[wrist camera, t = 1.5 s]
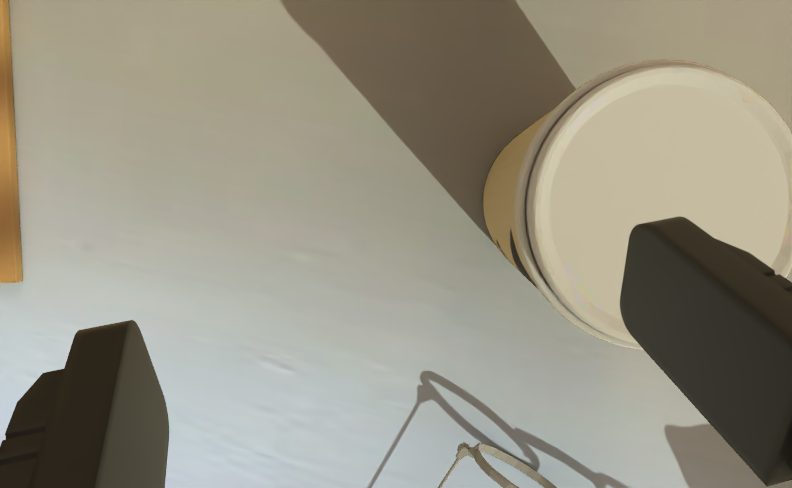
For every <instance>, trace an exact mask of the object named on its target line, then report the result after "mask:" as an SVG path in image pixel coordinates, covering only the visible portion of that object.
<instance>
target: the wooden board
mask: <svg viewBox="0 0 792 488" xmlns="http://www.w3.org/2000/svg"><path fill="white" fill-rule="evenodd" d="M20 281H23V274H22V254H21V234H20V214H19V195H18V175H17V155H16V135H15V116H14V96H13V76H12V56H11V36H10V17H9V0H0V283H17V282H20Z"/></svg>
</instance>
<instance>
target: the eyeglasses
mask: <svg viewBox="0 0 792 488" xmlns="http://www.w3.org/2000/svg"><path fill="white" fill-rule="evenodd" d="M480 451H482V452H485V453H487V454H490V455H493V456H495V457H497V458H499V459H501V460H503V461H504V462H506V463H508V464H510V465H512V466H514V467H515V468H517V469H519V470H520V471H522V472H523V473H525V474H526V475H528V476H529V477H531V478H532V479H534V480H535V481H537V482H538V483H539V484H540V485H542V486H543V487H544V488H557V487H556V486H554V485H553V484H552V483H551V482H549V481H548V480H547V479H546V478H544V477H543V476H542V475H540V474H539V473H537V472H536V471H534V470H533V469H532V468H530V467H529V466H527V465H525V464H524V463H522V462H520V461H519V460H517V459H515V458H513V457H512V456H510V455H508V454H506V453H504V452H502V451H500V450H498V449H496V448H494V447H491V446H489V445H486V444H483V443H478V444H477V445H476V446H475V447H470V448H469V445H468V444H466V443H463V444H460V445H459V446H458V453H457V455H456V457H457V459H456V460H455V462H454V464H453V465H452V467H451V468H450V470H449V471H448V473H447V474H446V476H445V477H444V479H443V481H442V482H441V484H440V485H439V487H438V488H441V487H442V486H443V484H444V483H445V481H446V479H447V478H448V476H449V475H450V473H451V472H452V470H453V469H454V467H455V466H456V464H457V463H458V461H459V459H460V460H461V459H462V458H463V457H464V456H467V455H469V456H471V457H473V458H474V459H475V461H476V462H477V464H478V465H479V466H480V468H481V469H482V470H483V471H484V472H485V473H486V474H487V475H488V476H489V477H491V478H492V479H493V480H494V481H496V482H497V483H498V484H499V485H501V486H502V487H503V488H519V487H517V486H516V485H514V484H513V483H511V482H510V481H508V480H507V479H506V478H505V477H503V476H502V475H501V474H500V473H498V472H497V471H496V470H495V469H494V468H492V467H491V466H490V465H489V464H488V463H487V462H486V460H485V459H484V458H483V456H482V455H481V453H480Z"/></svg>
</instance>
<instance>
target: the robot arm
mask: <svg viewBox="0 0 792 488" xmlns="http://www.w3.org/2000/svg"><path fill="white" fill-rule="evenodd" d="M620 311H621V316H622V319H623V322H624V324H625V326H626V328H627V330H628V332H629V333H630V334H631V336H632V337H633V338H634V339H635V340H636V341H637V342H638V344H639V345H640V346H641V347H642V348H643V349H644V350H645V351H646V352H647V354H648V355H649V356H650V357H651V358H652V359H653V360H654V361H655V363H656V364H657V365H658V366H659V367H660V368H661V369H662V370H663V371H664V373H665V374H666V375H667V376H668V377H669V378H670V379H671V380H672V381H673V383H674V384H675V385H676V386H677V387H678V388H679V389H680V390H681V391H682V393H683V394H684V395H685V396H686V397H687V398H688V399H689V400H690V401H691V403H692V404H693V405H694V406H695V407H696V408H697V409H698V410H699V412H700V413H701V414H702V415H703V416H704V417H705V418H706V419H707V420H708V422H709V423H710V424H711V425H712V426H713V427H714V428H715V429H716V430H717V432H718V433H719V434H720V435H721V436H722V437H723V438H724V439H725V440H726V442H727V443H728V444H729V445H730V446H731V447H732V448H733V449H734V451H735V452H736V453H737V454H738V455H739V456H740V457H741V458H742V459H743V461H744V462H745V463H746V464H747V465H748V466H749V467H750V468H751V469H752V471H753V472H754V473H755V474H756V475H757V476H758V477H759V478H760V479H761V481H762V482H763V483H764V484H765V485H766V486H771V485H774V484H778V483H781V482H785V481H788V480H792V283H791V282H790V281H789V280H787V279H786V278H784V277H783V276H782V275H780V274H779V275H776V274H775V270H773V269H772V268H770V267H769V266H768V265H766V264H765V263H763V262H762V261H760V260H759V259H758V258H756V257H755V256H753V255H752V254H751V253H749V252H747V251H744V250H742V249H739V248H737V247H735V246H732V245H730V244H727V243H725V242H722V241H720V240H717V239H715V238H713V237H712V236H711V235H709V234H708V233H706V232H705V231H704V230H702V229H701V228H700V227H698V226H697V225H696V224H694V223H693V222H691V221H690V220H689V219H687V218H685V217H680V216H679V217H673V218H668V219H663V220H658V221H653V222H647V223H642V224H638V225H636V226H635V227H634V228H633V229H632V231H631V233H630V236H629V242H628V248H627V255H626V262H625V268H624V275H623V281H622V288H621V295H620ZM5 435H6V440H3V441H2V444H1V446H0V488H165V477H166V465H167V454H168V443H169V421H168V413H167V407H166V403H165V399H164V395H163V392H162V390H161V387H160V384H159V381H158V379H157V376H156V373H155V370H154V367H153V365H152V362H151V359H150V356H149V353H148V351H147V348H146V345H145V342H144V340H143V337H142V334H141V331H140V329H139V327H138V325H137V324H136V322H135V321H133V320H130V321H125V322H120V323H115V324H109V325H104V326H99V327H94V328H89V329H83V330H79V331H78V332H77V333H76V334H75V337H74V340H73V343H72V346H71V349H70V352H69V356H68V359H67V362H66V365H65V368H64V369H61V370H56V371H51V372H46V373H43V374H42V375H41V376H40V377H39V378H38V380H37V381H36V382H35V383H34V384H33V385H32V386H31V388H30V389H29V390H28V391H27V392H26V393H25V394H24V396H23V397H22V398H21V399H20V400H19V401H18V402H17V404H16V407H15V410H14V412H13V415H12V418H11V420H10V423H9V425H8V428H7V431H6V433H5Z"/></svg>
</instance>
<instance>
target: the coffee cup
mask: <svg viewBox="0 0 792 488" xmlns="http://www.w3.org/2000/svg"><path fill="white" fill-rule="evenodd" d="M483 210H484V217H485V221H486V225H487V228H488V230H489V233H490V235H491V237H492V239H493V241H494V242H495V244H496V246H497V247H498V248H499V250H500V251H501V252H502V253H503V255H504V256H505V257H506V258H507V259H508V260H509V261H510V262H511V263H512V264H513V265H514V266H515V267H516V268H517V269H518V270H519V271H520V272H521V273H522V274H523V275H524V276H525V277H526V278H527V279H528V280H529V281H530V282H531V283H532V284H533V285H534V286H536V287H537V288H538V289H539V290H540V292H541V293H542V294H543V295H544V297H545V298H546V299H547V301H548V302H549V303H550V304H551V305H552V306H553V307H554V308H555V309H556V310H557V311H558V312H559V313H560V314H561V315H562V316H563V317H565V318H566V319H567V320H568V321H569V322H571V323H572V324H574V325H575V326H577V327H578V328H580V329H581V330H583V331H584V332H586V333H588V334H590V335H592V336H594V337H596V338H599V339H601V340H604V341H607V342H609V343H612V344H616V345H620V346H624V347H628V348H634V349H642V350H644V349H643V348H642V347H641V346H640V345H639V344H638V342H637V341H636V340H635V339H634V338H633V337H632V336H631V334H630V333H629V332H628V330H627V328H626V326H625V324H624V322H623V319H622V316H621V311H620V295H621V288H622V281H623V275H624V268H625V262H626V255H627V248H628V242H629V236H630V233H631V231H632V229H633V228H634V227H635V226H636V225H638V224H642V223H647V222H653V221H658V220H663V219H668V218H673V217H679V216H680V217H685V218H687V219H689V220H690V221H691V222H693V223H694V224H696V225H697V226H698V227H700V228H701V229H702V230H704V231H705V232H706V233H708V234H709V235H711V236H712V237H713V238H715V239H717V240H720V241H722V242H725V243H727V244H730V245H732V246H735V247H737V248H739V249H742V250H744V251H747V252H749V253H751V254H752V255H753V256H755V257H756V258H758V259H759V260H760V261H762V262H763V263H765V264H766V265H768V266H769V267H770V268H772V269H773V270H775V274H776V275H779V274H780V275H782V276H783V277H784V278H786V277H787V275H788V273H789V272H790V270H791V268H792V133H791V132H790V130H789V128H788V126H787V125H786V123H785V122H784V121H783V119H782V118H781V116H780V115H779V114H778V113H777V112H776V111H775V109H774V108H773V107H772V106H771V105H770V104H769V103H768V102H767V101H766V100H765V99H764V98H762V97H761V96H760V95H759V94H758V93H756V92H755V91H754V90H752V89H751V88H750V87H748V86H747V85H745V84H743V83H742V82H741V81H739V80H737V79H735V78H734V77H732V76H730V75H728V74H726V73H724V72H722V71H719V70H717V69H714V68H712V67H709V66H705V65H702V64H698V63H694V62H687V61H681V60H651V61H643V62H638V63H633V64H628V65H625V66H622V67H618V68H615V69H613V70H610V71H608V72H605V73H603V74H601V75H599V76H597V77H595V78H593V79H592V80H590V81H588V82H586V83H585V84H583V85H582V86H581V87H579V88H578V89H576V90H575V91H574V92H572V93H571V94H570V95H569V96H568V97H567V98H566V99H564V100H563V101H562V102H561V103H560V104H559V105H558V106H557V107H556V108H555V109H553V110H552V111H550V112H549V113H548V114H546V115H545V116H543V117H542V118H541V119H539V120H538V121H537V122H535V123H534V124H532V125H531V126H530V127H528V128H527V129H526V130H524V131H523V132H522V133H520V134H519V135H518V136H517V137H515V138H514V139H513V140H512V141H511V142H510V143H509V144H508V145H507V146H506V147H505V148H504V149H503V150H502V151H501V153H500V154H499V155H498V157H497V158H496V160H495V162H494V163H493V165H492V167H491V169H490V172H489V174H488V176H487V180H486V183H485V187H484V194H483Z"/></svg>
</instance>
